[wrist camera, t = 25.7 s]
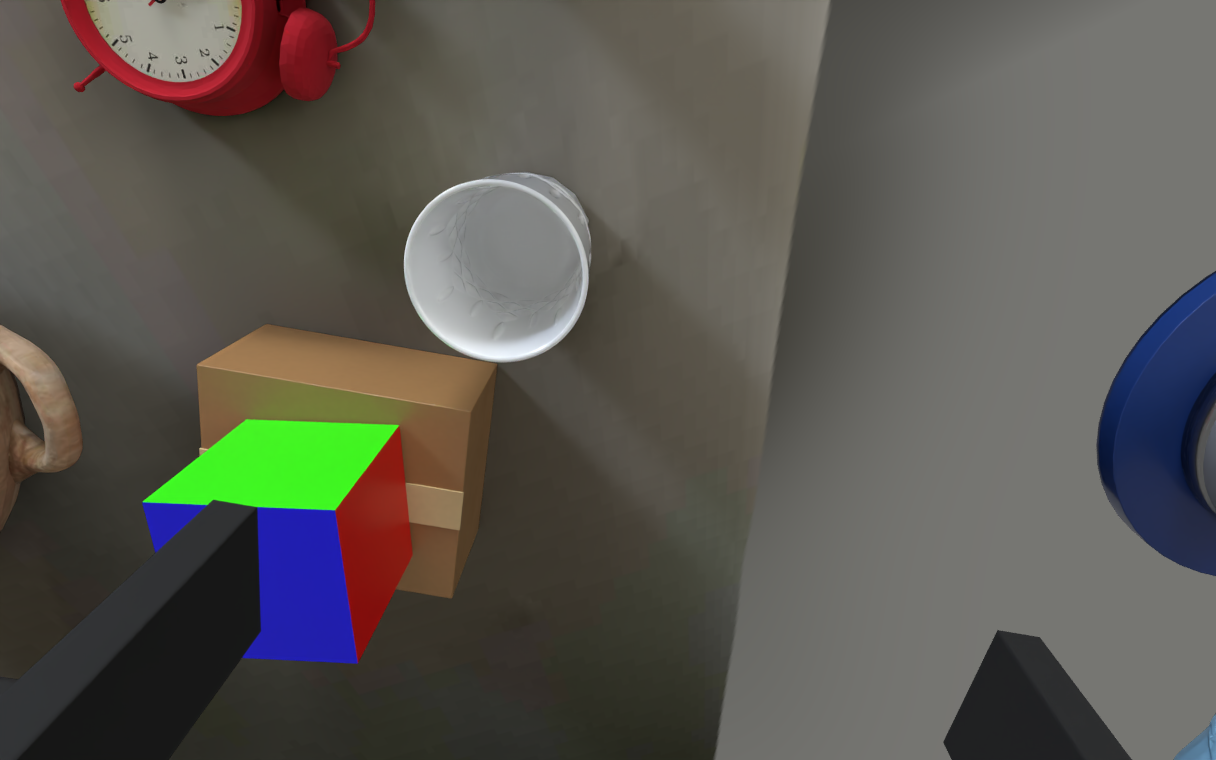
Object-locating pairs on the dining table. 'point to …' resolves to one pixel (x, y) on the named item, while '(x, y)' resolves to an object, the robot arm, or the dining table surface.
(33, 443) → the ceramic bowl
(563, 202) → the white cup
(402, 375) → the cardboard box
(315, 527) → the cube
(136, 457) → the dining table surface
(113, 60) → the alarm clock
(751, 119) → the dining table surface
